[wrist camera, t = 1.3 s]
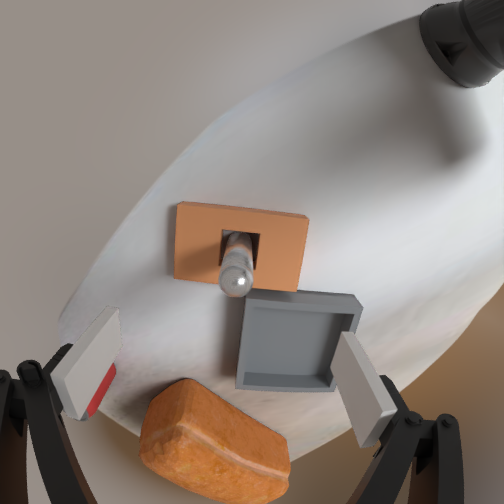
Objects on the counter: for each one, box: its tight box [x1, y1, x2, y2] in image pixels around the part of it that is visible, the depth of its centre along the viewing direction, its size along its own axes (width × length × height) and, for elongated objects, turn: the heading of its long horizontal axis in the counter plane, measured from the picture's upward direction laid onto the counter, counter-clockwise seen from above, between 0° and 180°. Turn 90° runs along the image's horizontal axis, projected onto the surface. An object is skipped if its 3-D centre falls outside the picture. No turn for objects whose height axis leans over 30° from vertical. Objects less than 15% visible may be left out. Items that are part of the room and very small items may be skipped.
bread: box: [139, 379, 291, 504], centre depth 39 cm, size 14×26×16 cm, turn 43°
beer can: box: [63, 363, 116, 421], centre depth 36 cm, size 7×7×12 cm
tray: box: [235, 288, 363, 392], centre depth 38 cm, size 15×15×4 cm
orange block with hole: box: [174, 201, 309, 292], centre depth 34 cm, size 15×9×3 cm, turn 83°
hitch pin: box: [218, 231, 254, 298], centre depth 29 cm, size 3×3×14 cm
